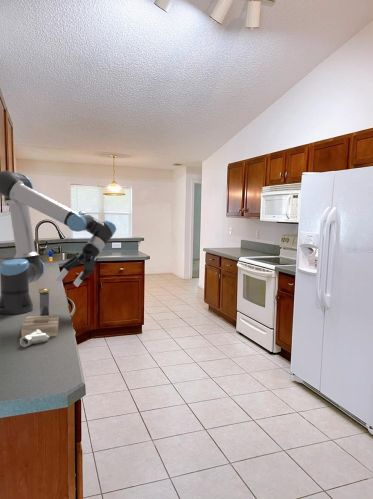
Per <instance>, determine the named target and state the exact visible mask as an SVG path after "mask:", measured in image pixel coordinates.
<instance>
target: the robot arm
mask: <svg viewBox="0 0 373 499" xmlns="http://www.w3.org/2000/svg"><path fill="white" fill-rule="evenodd" d="M0 196H3V197H4V202H5V203H6V204H7V205H8V206H9V213H10V219H11V225H12V226H11V227H12V232H13V237H14V238H13V239H14V240H13V241H14V246H15V252H16V253H15V255H14V257H13V258H12V259H7V260H3V261H2V262H1V263H0V313H2V314H1V315H18V314H24V313H25V314H26V313H28V312H30V311H33V310H34V303H33V301H32V297H31V295H30V283H34V282H37V281H38V280H39V279H41V278H42V277H43V275H44V274H45V268H46V267H45V266H46V265H45V264H44V262H43V260H41V258H40V254H39V253H38V252H37V251H36V248H35V247H36V246H35V239H34V234H33V233H34V232H33V225H32V220H31V212H30V208H32V209H34V210H36V211H37V212H40V213H42V214H44V215H46V216H47V217H49V218H51V219H53V220H55V221H57V222H59V223H60V224H63V225H65V226H67V227H68V229H69V230H71V231H72V232H85V231H86V232H87V233H89V234H91V235H92V236H91V237H90V239H89V240H88V241H87V243H86V244H85V245H84V246H83V248H82V252H81V253H79V252H77V253H75V255H73V257H71V258H70V259H68V260H67V261H66V262H65V263H63V264H62V265H61V268H62V270H61V271H60V272H59V273H58V274H57V276H56V277H55V279H54V280H55V281H56V282H57V283H58V284H59V283H61V282H62V281H63V280H64V278H65V277H66V276H67V275H68V273H69V271H70V270H72V269H74V268H75V267H77V266H78V265H79V266H80V265H83V270H82V271H81V272H80V273H79V274H78V276H77V277H76V278H75V280H74V281H73V282H72V284H73V285H74V286H75V287H77V288H78V287H79V286H80V284H81V283H82V282H83V281H84V280H85V278H86V277H87V276H89V275H93V273H94V269H95V267H96V263H97V262H98V258H99V257H98V256H99V254H100V253H101V252H102V251H103V249H104V247H105V246H106V245H107V244H108V242H109V241H110V240H111V239H112V238H113V236H114V234H115V233H116V231H117V227H116V225H115V224H114V223H113V222H112V221H110V220H104V221H100V220H98V219H97V218H95V217H94V216H93V215H91V214H89V213H88V212H85V211H84V210H80V211H79V212H77V211H75V210H73V209H71V208H69V207H67V206H65V205H64V204H61V203H59V202H57V201H55V200H54V199H52V198H50V197H48V196H46V195H44V194H43V193H41V192H38V191H37V190H34V185H33V183H32V180H31V179H30V178H29V177H28V176H27V175H24V174H22V173H19V172H13V171H10V170H1V171H0Z"/></svg>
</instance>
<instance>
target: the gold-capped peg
mask: <svg viewBox="0 0 373 499" xmlns="http://www.w3.org/2000/svg"><path fill="white" fill-rule="evenodd" d="M50 292H51V288H49V287H48V288H47V287H46V288H39V289H38V293H39V316H50Z"/></svg>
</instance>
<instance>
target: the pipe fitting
mask: <svg viewBox="0 0 373 499" xmlns="http://www.w3.org/2000/svg"><path fill="white" fill-rule="evenodd" d="M49 339H50V336H48V335H46V333H42V332H41V331H40V330H39V329H37V330H35V331H33V332H31V333H30V334H28V335H26V336H24V337H22V336H21V338H19V344H20V346H21V347H23V348H26V347H28V346H31V345H35V344H43V343H47V341H48V340H49Z"/></svg>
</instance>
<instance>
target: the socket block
mask: <svg viewBox="0 0 373 499" xmlns="http://www.w3.org/2000/svg"><path fill="white" fill-rule="evenodd" d="M59 316H60V315H59V314H53V315H49V316H40V315H35V316H26V318H25V320H24V322H23V323H22V326H21V327H20V328H21V338H22V337H24V336H26V335H28V334H30V333H31V332H33V331H35V330H37V329H39V330H40V331H41V332H42V333H46V335H48V336H49V337H58V333H59V326H60V324H59V321H60V319H59Z"/></svg>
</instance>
